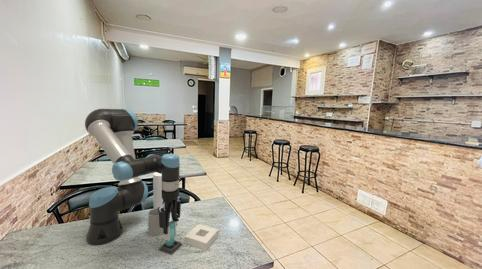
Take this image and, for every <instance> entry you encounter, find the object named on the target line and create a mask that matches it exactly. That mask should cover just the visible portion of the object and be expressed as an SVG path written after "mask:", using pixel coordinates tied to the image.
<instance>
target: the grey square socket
mask: <svg viewBox="0 0 482 269" xmlns="http://www.w3.org/2000/svg"><path fill="white" fill-rule="evenodd" d="M183 245H184V244H183V243H182V242H180V241H177V240H175V239H174V245H173V246H166V242H165V243H163V244H162V245H160V247H159V248H158V249H157V251H159V252H162V253H164V254H167V255H170V256H173V255H174V254H175V253H176V252H177V251H178V250H179V249H180V248H182V246H183Z"/></svg>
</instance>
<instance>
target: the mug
mask: <svg viewBox="0 0 482 269" xmlns="http://www.w3.org/2000/svg"><path fill="white" fill-rule="evenodd" d="M147 223H148V225H147V226H148V228H147V230H148V232H147V233H148V234H149V235H150V236H159V235H162V234H164V233H163V228H160V227H159V212H158V208H156V209H154V208H153V209H151V210H149V211H148V214H147Z"/></svg>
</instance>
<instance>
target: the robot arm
mask: <svg viewBox="0 0 482 269" xmlns="http://www.w3.org/2000/svg"><path fill="white" fill-rule="evenodd" d="M84 127H85V128H84V129H85V130H86V131H87V133H88V135H90V136H92V137H94V139H95V140H96V141H97V143H98V144H99V145H100V146H101V148H102V150H103V151H104V152H105V154H106V155H107V157H108V158H109V159H110V161H111V162H112V164H113V165H112V167H111V173H112V175H113V178H114V179H115V180H116V181H119V182H118V183H117V187H116V186H108V187H107V186H106V187H103V188H100V189H98V190H97V189H96V190H95V191H94V192H92V194H91V195H89V200H88V201H89V203H88V207H89V220H90V222H89V223H90V224H89V227H88V231H87V233H86V242H87V243H88V244H89V245H91V246H92V245H93V246H101V245H105V244H108V243H111V242H113V241H115V240H117V239H118V238H120V237H121V236H122V234H123V233H124V229H123V227H124V226H123V224H122V222H121V221H120V218H119V212H121V211H124V210H127V209H130V208H132V207H136V206H139V205H141V204H143V203H145V201H146V200H147V198H148V195H149V189H148V188H149V187H148V185H147V183H146V182H145V181H143V180H142V178H141V177H142V176H145V175H149V174H153V173H155V172H157V173H160V174H162V199H163V203H162V206H161V207H158V212H159V227H160V228H163V233H162V234H163V240H165V241H166V240H168V241H169V240H170V226H169V222H174V236H176V235H177V227H178V226H177V225H178V224H177V223H178V222H179V220H180V219H179V218H181V206H182V201H183V200H182V199H183V197H181V196H180V166H181V164H180V163H181V162H180V156H179V155H178V154H177V153H166V154H162V155H159V154H148V155H147V156H146V157H141V158H136V154H135V148H134V147H135V146H134V142H133V141H134V140H133V134H134V133H135V130H136V129H137V128H138V118H137V115H136V113H134V112H133V110H131V109H124V108H98V109H95V110H93V111H91V112H90V113H89V114H88V115H87V116H86V118H85V119H84ZM170 212H171V213H170Z"/></svg>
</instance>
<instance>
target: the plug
mask: <svg viewBox="0 0 482 269" xmlns="http://www.w3.org/2000/svg"><path fill="white" fill-rule="evenodd" d="M169 226H170V240H169V241H168V240H165V243H166V246H173V245H174V240H175V235H174V222H171V221H169Z"/></svg>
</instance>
